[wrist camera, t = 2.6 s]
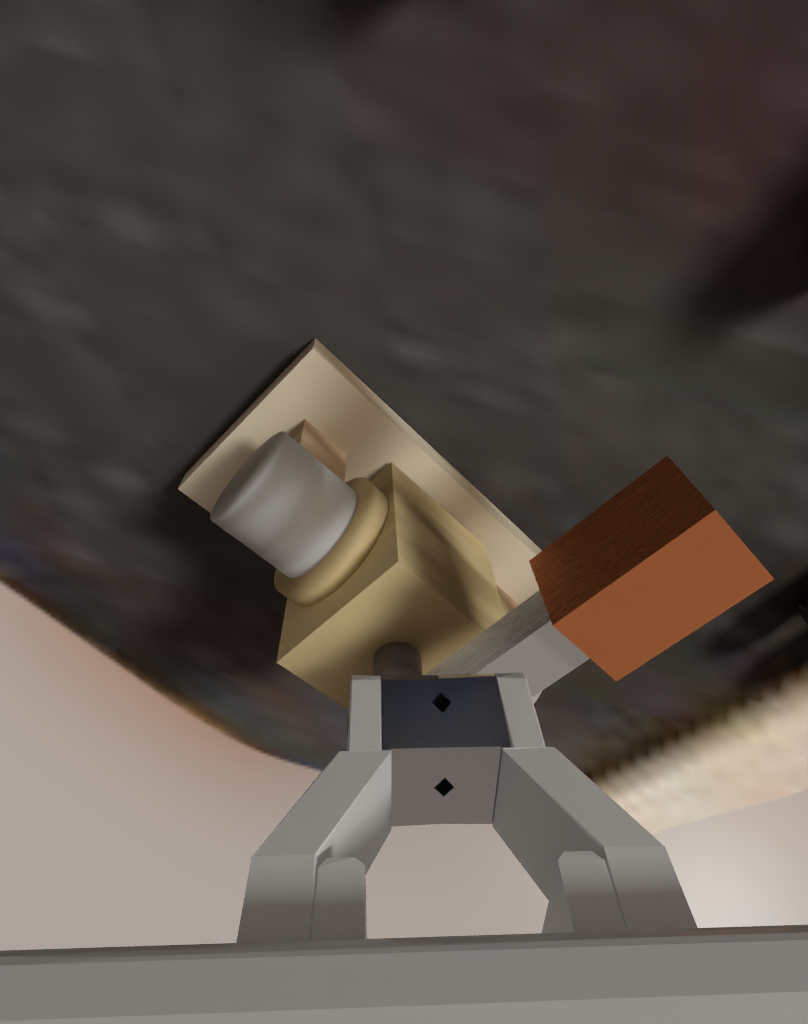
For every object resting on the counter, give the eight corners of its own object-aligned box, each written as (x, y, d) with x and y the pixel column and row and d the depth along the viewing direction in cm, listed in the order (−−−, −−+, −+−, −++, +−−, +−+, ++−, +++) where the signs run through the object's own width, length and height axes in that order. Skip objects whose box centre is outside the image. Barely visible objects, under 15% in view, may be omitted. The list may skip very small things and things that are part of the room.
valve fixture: (185, 473, 31) (95, 651, 21) (315, 337, 28) (285, 467, 18) (444, 668, 38) (473, 873, 28) (570, 576, 35) (654, 768, 25)
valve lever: (398, 753, 25) (403, 828, 22) (326, 706, 23) (321, 779, 21) (726, 524, 20) (779, 585, 17) (661, 448, 19) (708, 502, 16)
